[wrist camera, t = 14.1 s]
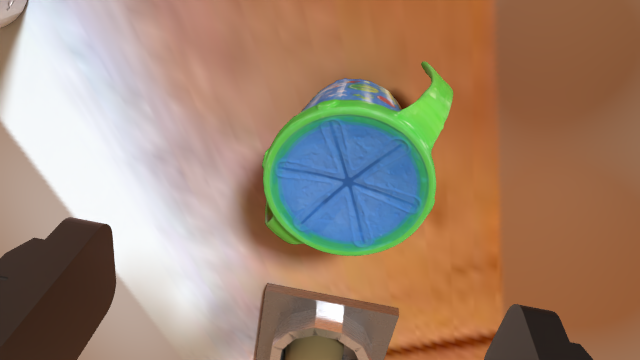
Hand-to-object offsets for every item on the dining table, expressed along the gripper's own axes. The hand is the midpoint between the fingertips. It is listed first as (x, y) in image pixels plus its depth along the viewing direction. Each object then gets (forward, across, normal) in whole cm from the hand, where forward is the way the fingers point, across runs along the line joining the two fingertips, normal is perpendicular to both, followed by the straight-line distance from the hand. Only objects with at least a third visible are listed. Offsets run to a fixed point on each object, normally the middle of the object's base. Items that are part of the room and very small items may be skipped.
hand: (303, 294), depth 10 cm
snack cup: (+28, -2, +8) cm, 30 cm away
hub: (+28, -3, +33) cm, 43 cm away
